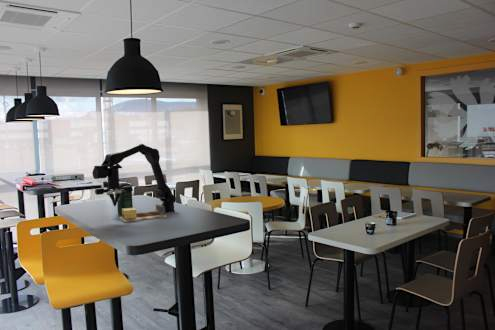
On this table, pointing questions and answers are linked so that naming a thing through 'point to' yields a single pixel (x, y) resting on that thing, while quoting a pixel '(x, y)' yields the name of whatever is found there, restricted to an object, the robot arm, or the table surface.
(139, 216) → the track
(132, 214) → the block
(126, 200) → the coffee jar
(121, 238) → the table surface
